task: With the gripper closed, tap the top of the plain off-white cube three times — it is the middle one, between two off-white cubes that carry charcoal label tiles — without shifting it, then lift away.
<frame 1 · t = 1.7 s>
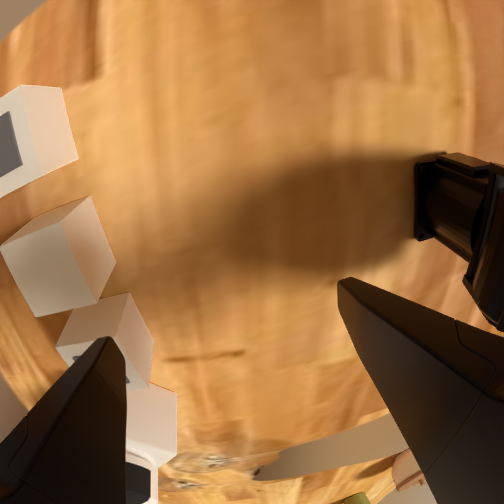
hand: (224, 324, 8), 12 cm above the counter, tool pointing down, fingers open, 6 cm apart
labelled cube b: (39, 137, 15), on the counter
labelled cube a: (115, 323, 22), on the counter
lidded jar: (406, 451, 47), on the counter
medicine bottle: (131, 395, 26), on the counter
plain cube: (73, 239, 18), on the counter
plant pot: (353, 496, 58), on the counter
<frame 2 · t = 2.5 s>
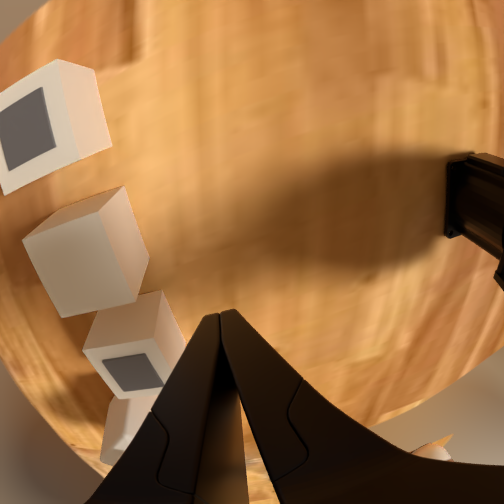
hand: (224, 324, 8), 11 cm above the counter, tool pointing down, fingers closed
labelled cube b: (67, 122, 14), on the counter
labelled cube a: (143, 323, 21), on the counter
lidded jar: (419, 450, 47), on the counter
medicine bottle: (154, 397, 25), on the counter
plain cube: (102, 233, 18), on the counter
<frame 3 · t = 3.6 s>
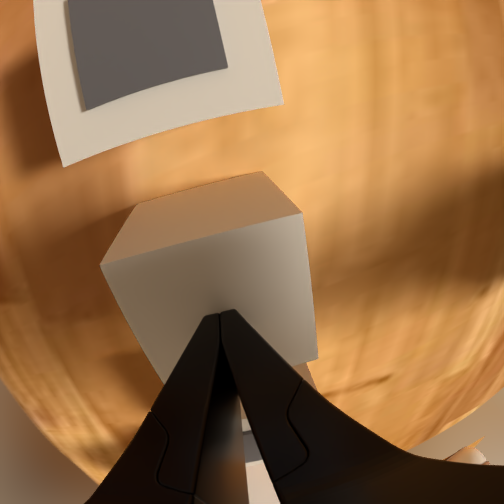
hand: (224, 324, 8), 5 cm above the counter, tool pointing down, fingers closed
labelled cube b: (168, 61, 9), on the counter
labelled cube a: (250, 365, 16), on the counter
lidded jar: (455, 454, 42), on the counter
medicine bottle: (235, 442, 20), on the counter
plain cube: (213, 244, 12), on the counter
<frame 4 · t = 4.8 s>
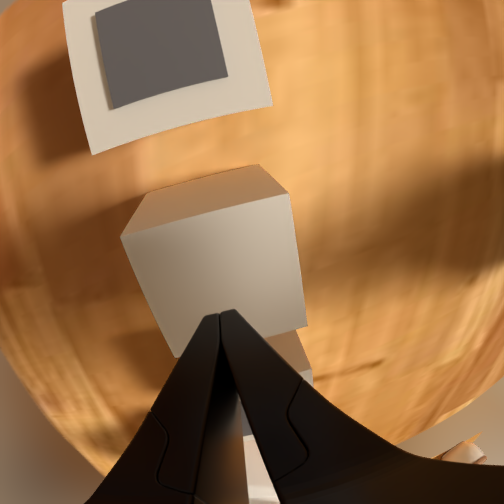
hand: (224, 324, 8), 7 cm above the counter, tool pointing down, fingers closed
labelled cube b: (175, 67, 10), on the counter
labelled cube a: (248, 345, 17), on the counter
lidded jar: (452, 449, 43), on the counter
medicine bottle: (234, 426, 21), on the counter
plain cube: (215, 229, 14), on the counter
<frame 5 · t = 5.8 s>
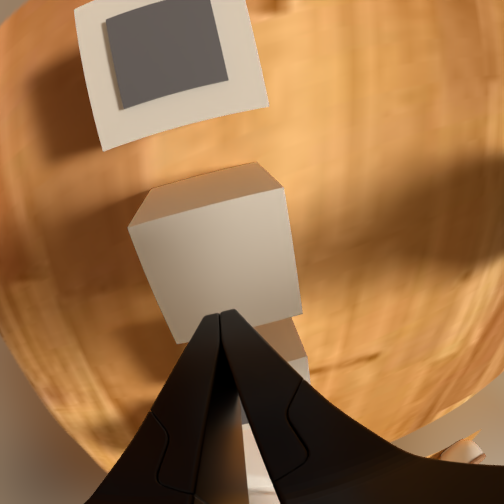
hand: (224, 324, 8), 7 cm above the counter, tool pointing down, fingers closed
labelled cube b: (178, 70, 11), on the counter
labelled cube a: (247, 336, 18), on the counter
lidded jar: (451, 446, 44), on the counter
medicine bottle: (234, 418, 22), on the counter
plain cube: (215, 223, 15), on the counter
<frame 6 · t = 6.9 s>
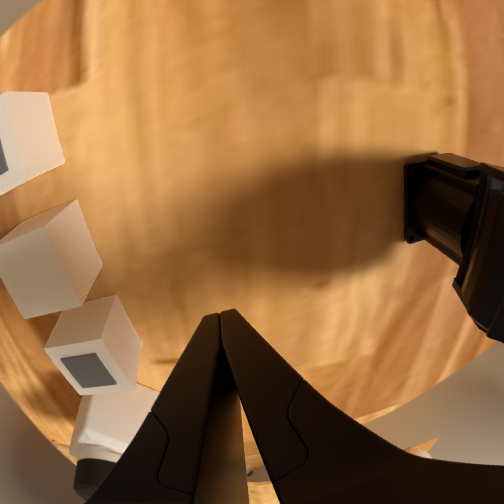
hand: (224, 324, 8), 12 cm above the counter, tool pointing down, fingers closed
labelled cube b: (27, 142, 15), on the counter
labelled cube a: (103, 325, 22), on the counter
lidded jar: (402, 453, 48), on the counter
medicine bottle: (121, 396, 26), on the counter
plain cube: (61, 242, 18), on the counter
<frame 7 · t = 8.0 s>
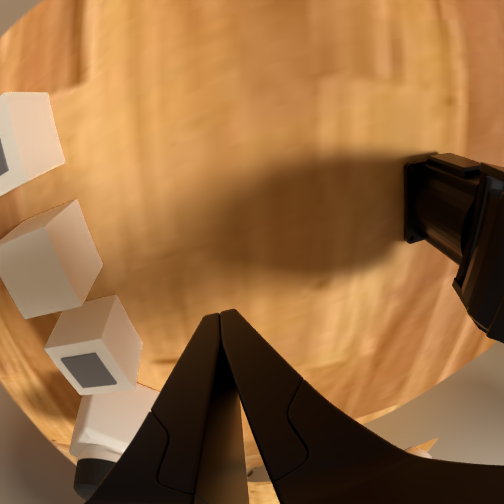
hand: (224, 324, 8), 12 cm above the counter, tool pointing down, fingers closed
labelled cube b: (27, 142, 15), on the counter
labelled cube a: (103, 325, 22), on the counter
lidded jar: (402, 453, 47), on the counter
medicine bottle: (121, 396, 26), on the counter
plain cube: (62, 242, 18), on the counter
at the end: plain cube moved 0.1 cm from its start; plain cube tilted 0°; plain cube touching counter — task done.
